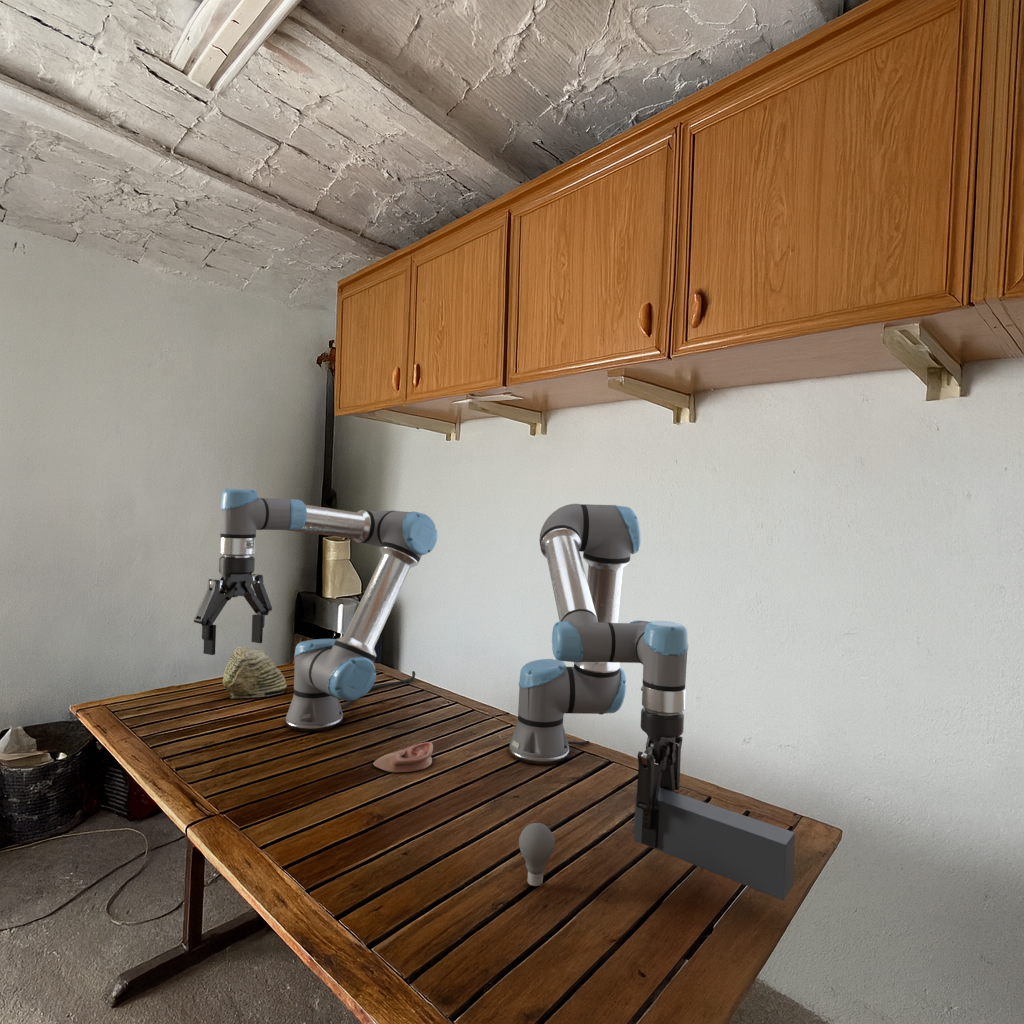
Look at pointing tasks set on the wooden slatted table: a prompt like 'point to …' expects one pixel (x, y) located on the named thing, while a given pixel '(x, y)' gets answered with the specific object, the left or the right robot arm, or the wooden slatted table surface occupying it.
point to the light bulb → (536, 850)
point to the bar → (724, 842)
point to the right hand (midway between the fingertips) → (656, 838)
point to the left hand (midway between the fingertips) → (234, 648)
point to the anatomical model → (407, 759)
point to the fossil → (252, 674)
